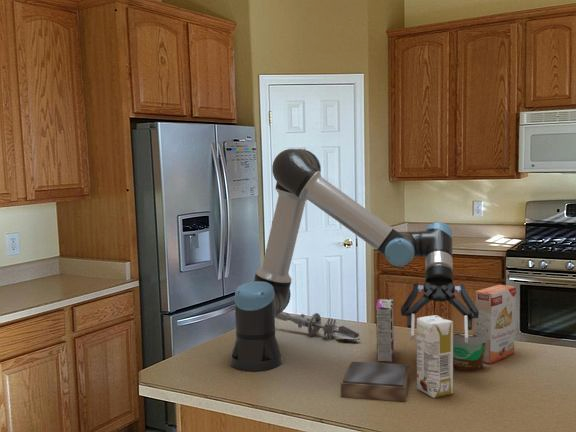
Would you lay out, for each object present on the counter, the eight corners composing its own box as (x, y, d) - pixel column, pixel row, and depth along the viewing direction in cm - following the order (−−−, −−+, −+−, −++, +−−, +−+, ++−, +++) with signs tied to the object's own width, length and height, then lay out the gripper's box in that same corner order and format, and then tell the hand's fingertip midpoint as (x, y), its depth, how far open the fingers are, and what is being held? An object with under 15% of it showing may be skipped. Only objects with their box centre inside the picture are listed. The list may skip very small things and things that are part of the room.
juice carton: (432, 400, 151) (432, 325, 149) (412, 388, 159) (412, 317, 157) (457, 394, 154) (457, 321, 152) (436, 383, 162) (436, 313, 160)
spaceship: (281, 304, 221) (269, 300, 215) (367, 326, 202) (357, 323, 196) (275, 325, 220) (263, 322, 214) (361, 350, 201) (351, 347, 194)
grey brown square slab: (341, 396, 154) (340, 381, 154) (350, 374, 170) (350, 360, 169) (405, 401, 150) (405, 385, 150) (408, 378, 166) (408, 364, 165)
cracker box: (491, 365, 175) (492, 293, 173) (472, 360, 180) (473, 290, 178) (516, 354, 184) (516, 286, 182) (497, 349, 189) (498, 283, 187)
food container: (441, 370, 172) (441, 335, 171) (443, 363, 178) (443, 329, 177) (487, 374, 168) (487, 339, 167) (487, 367, 173) (488, 332, 172)
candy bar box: (378, 350, 191) (377, 298, 189) (394, 350, 190) (393, 299, 188) (375, 361, 180) (375, 307, 179) (393, 362, 179) (392, 307, 178)
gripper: (484, 279, 171) (488, 348, 158) (395, 277, 177) (391, 343, 164) (486, 264, 166) (490, 334, 153) (393, 263, 172) (390, 330, 159)
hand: (439, 339), depth 158 cm, fingers open, 13 cm apart
